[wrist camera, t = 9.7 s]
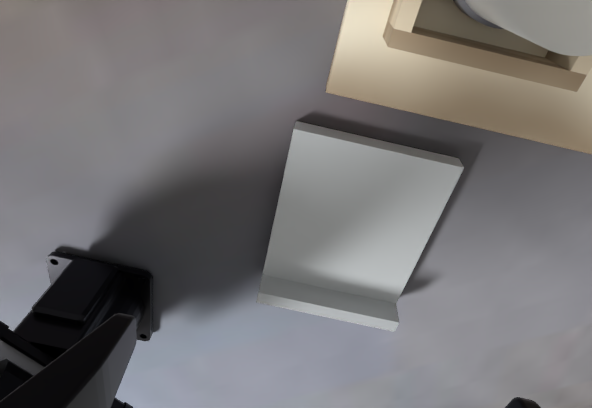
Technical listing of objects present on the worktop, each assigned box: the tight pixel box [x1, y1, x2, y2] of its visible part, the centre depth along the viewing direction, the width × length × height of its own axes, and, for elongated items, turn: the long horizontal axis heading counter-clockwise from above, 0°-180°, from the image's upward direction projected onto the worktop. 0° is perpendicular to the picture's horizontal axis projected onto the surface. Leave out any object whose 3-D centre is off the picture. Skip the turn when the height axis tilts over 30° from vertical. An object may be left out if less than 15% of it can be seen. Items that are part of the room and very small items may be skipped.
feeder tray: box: [256, 121, 464, 332], centre depth 20 cm, size 10×8×2 cm
